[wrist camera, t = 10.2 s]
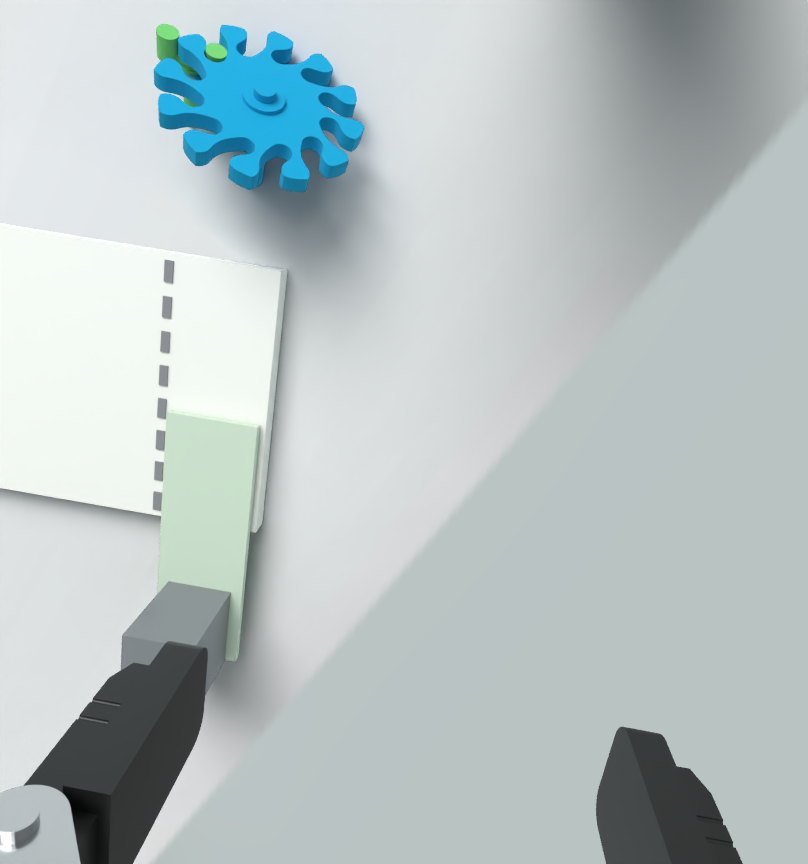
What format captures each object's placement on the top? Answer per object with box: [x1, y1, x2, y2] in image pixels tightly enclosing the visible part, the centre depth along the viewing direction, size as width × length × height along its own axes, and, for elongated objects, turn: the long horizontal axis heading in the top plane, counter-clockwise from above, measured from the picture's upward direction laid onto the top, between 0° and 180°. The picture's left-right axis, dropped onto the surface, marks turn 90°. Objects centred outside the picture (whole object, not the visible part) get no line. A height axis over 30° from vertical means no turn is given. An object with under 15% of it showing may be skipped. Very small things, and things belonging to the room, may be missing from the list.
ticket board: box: [0, 223, 288, 533], centre depth 40 cm, size 16×24×2 cm, turn 81°
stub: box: [121, 410, 260, 695], centre depth 38 cm, size 16×5×7 cm, turn 171°
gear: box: [154, 24, 364, 192], centre depth 34 cm, size 11×6×10 cm
